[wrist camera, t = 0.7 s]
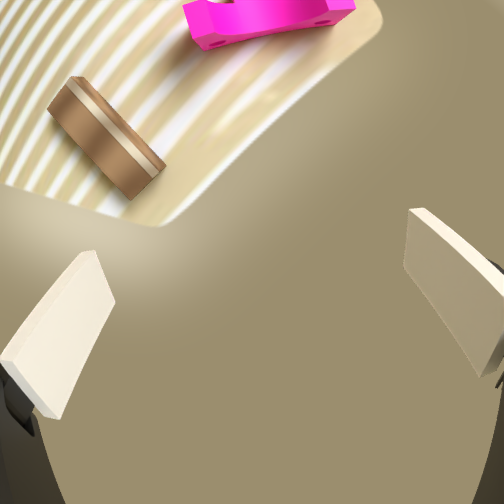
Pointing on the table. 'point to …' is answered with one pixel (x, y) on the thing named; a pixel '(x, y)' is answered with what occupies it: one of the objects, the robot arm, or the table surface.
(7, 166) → the table surface
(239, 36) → the toy block
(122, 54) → the table surface
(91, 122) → the walnut plank
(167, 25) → the table surface
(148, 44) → the table surface
